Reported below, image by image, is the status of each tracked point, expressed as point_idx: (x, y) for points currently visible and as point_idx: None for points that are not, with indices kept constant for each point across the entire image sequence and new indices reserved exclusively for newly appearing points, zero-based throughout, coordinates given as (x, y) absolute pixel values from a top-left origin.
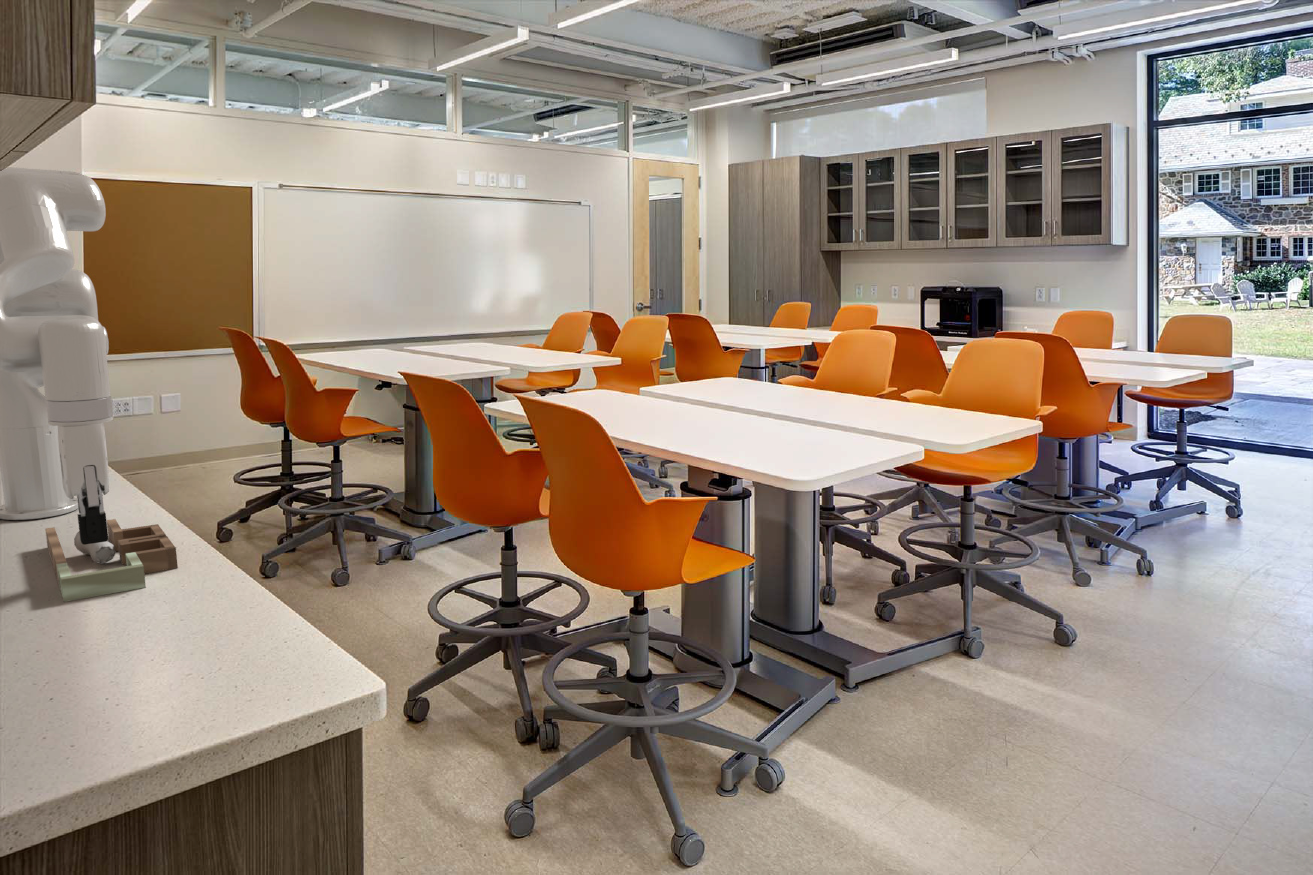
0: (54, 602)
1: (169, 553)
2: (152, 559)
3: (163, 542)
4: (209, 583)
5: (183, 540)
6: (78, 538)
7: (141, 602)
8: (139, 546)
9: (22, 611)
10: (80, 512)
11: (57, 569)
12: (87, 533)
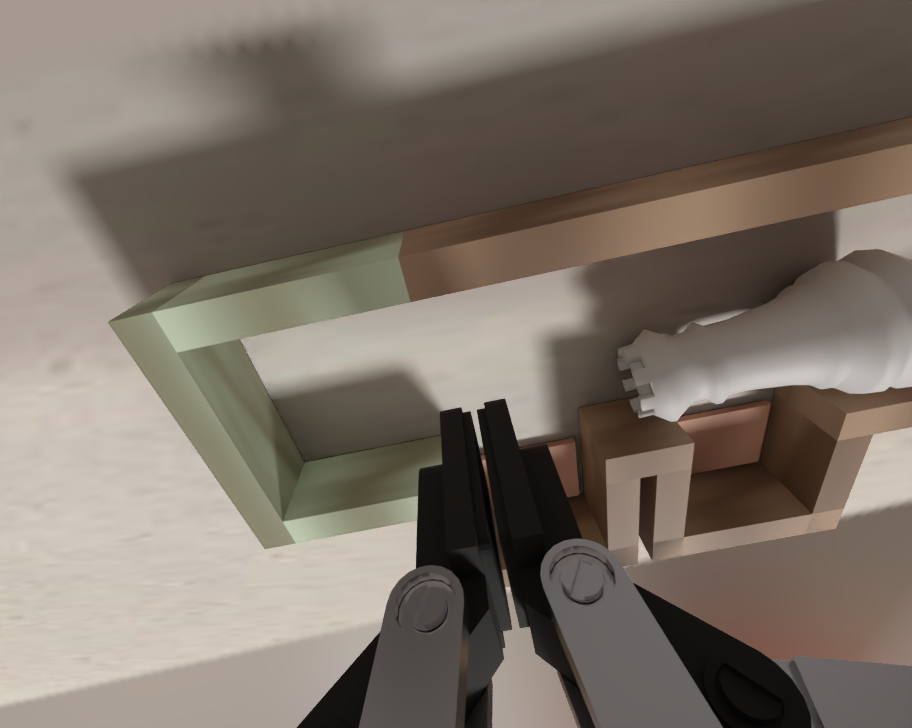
0: (170, 248)
1: None
2: None
3: None
4: (285, 595)
5: None
6: (865, 288)
7: (140, 491)
8: (600, 493)
9: (50, 132)
10: (458, 594)
11: (363, 260)
12: (440, 477)
